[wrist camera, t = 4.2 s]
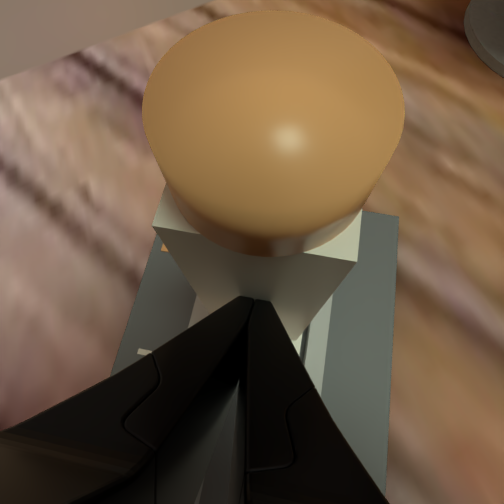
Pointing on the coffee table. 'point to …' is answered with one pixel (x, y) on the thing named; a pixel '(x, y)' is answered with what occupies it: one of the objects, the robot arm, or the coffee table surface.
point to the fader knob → (269, 156)
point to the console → (311, 351)
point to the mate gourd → (486, 32)
